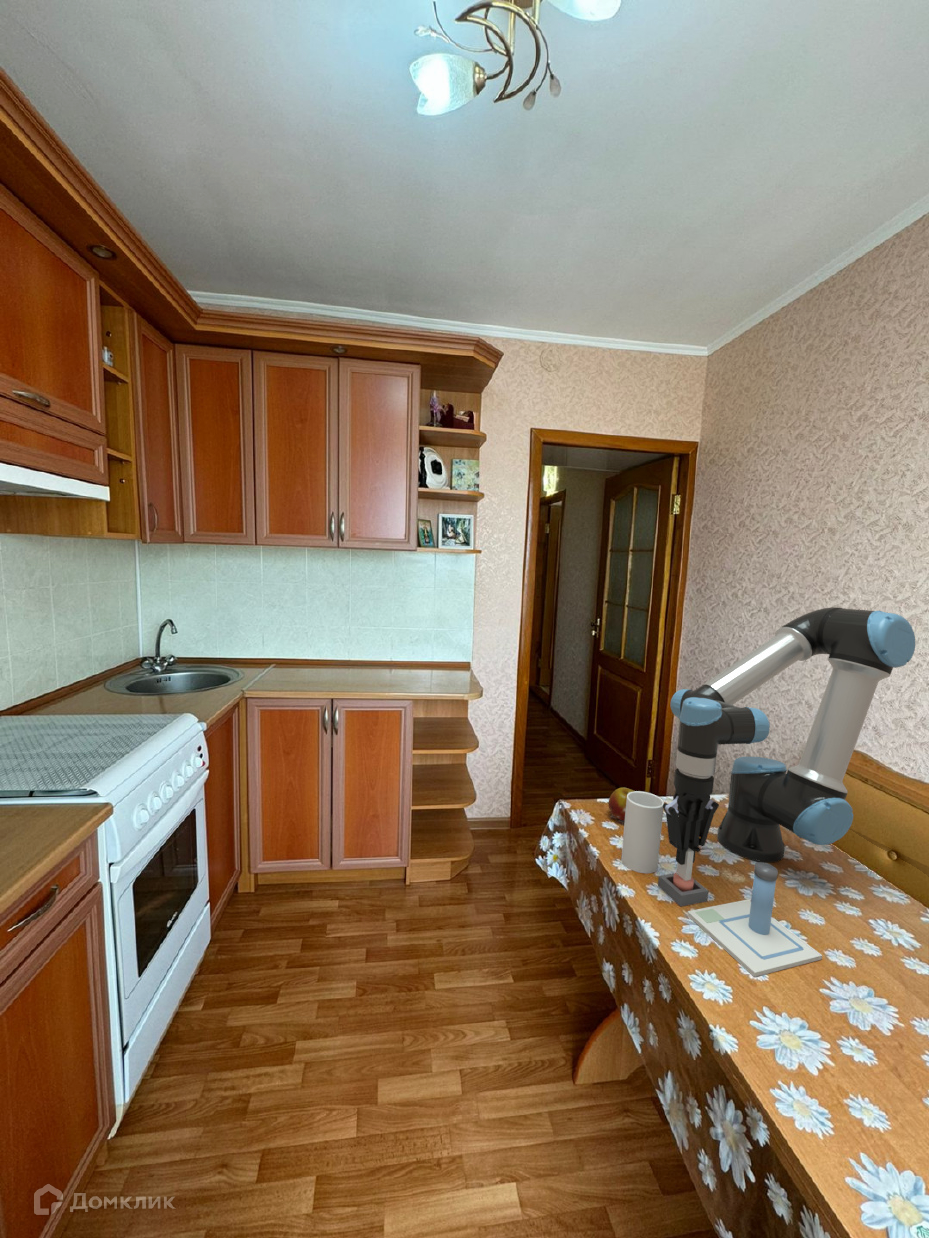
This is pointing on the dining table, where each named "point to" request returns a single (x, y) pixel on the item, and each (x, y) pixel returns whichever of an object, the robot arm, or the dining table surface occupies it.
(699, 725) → the robot arm
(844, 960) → the dining table surface
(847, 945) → the dining table surface
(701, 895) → the button housing
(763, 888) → the marker
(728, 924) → the board
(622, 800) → the fruit
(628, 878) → the dining table surface
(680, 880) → the button
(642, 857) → the cup
